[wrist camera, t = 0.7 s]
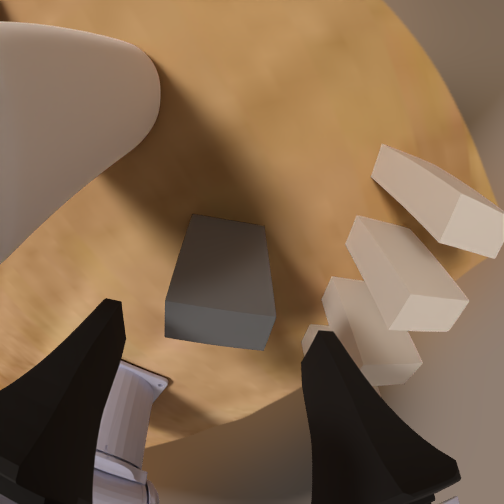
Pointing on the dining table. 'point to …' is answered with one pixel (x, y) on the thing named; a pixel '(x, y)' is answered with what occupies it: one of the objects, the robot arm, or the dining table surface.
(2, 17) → the dining table surface
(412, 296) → the domino
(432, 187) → the domino
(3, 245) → the can
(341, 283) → the domino
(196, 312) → the domino
